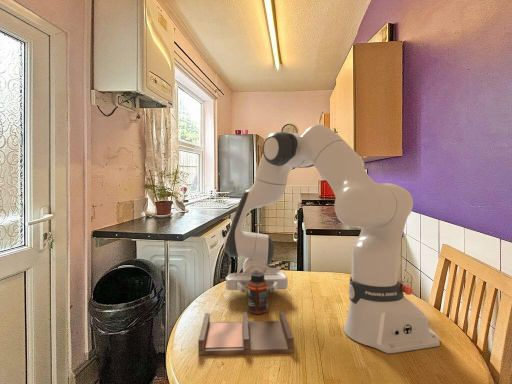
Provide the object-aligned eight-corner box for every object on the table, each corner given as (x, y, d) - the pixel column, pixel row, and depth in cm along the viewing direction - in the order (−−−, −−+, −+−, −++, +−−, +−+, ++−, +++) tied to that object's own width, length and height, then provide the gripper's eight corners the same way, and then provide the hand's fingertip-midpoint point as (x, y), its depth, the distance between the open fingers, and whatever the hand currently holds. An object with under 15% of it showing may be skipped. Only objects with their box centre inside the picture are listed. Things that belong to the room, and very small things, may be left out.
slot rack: (284, 324, 85) (284, 311, 85) (293, 353, 71) (293, 338, 71) (205, 325, 84) (205, 313, 84) (198, 355, 70) (198, 340, 70)
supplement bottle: (270, 309, 95) (271, 272, 94) (261, 316, 90) (261, 278, 89) (254, 305, 98) (254, 269, 97) (244, 312, 93) (244, 274, 92)
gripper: (225, 267, 108) (223, 280, 94) (284, 266, 109) (290, 279, 95) (225, 285, 108) (223, 300, 94) (284, 284, 109) (290, 299, 96)
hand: (257, 289), depth 95 cm, fingers open, 8 cm apart
